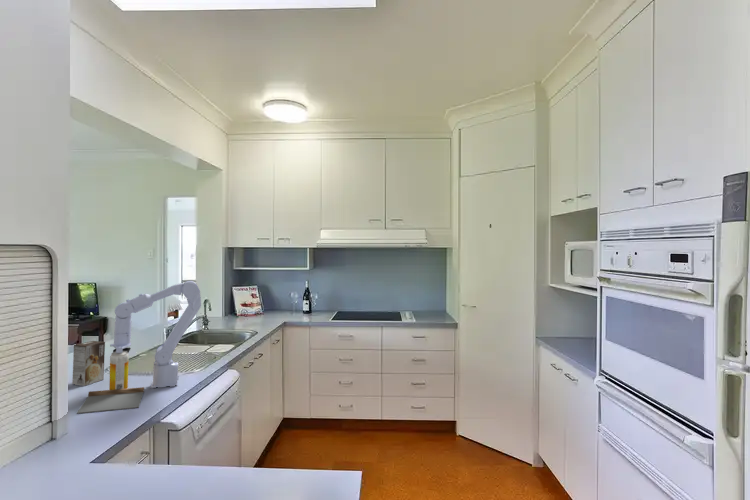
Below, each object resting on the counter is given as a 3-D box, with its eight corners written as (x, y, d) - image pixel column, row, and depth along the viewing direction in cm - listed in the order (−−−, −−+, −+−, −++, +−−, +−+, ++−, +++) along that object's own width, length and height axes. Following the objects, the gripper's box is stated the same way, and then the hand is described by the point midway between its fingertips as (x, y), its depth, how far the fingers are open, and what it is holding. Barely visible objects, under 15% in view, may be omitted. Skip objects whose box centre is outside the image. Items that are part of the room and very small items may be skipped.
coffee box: (91, 378, 175) (93, 340, 175) (104, 379, 174) (106, 341, 174) (71, 384, 166) (73, 344, 166) (84, 386, 165) (86, 345, 165)
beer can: (125, 385, 165) (126, 349, 163) (129, 391, 161) (130, 354, 159) (107, 389, 161) (108, 352, 159) (111, 395, 156) (112, 357, 155)
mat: (143, 392, 160) (143, 391, 160) (138, 407, 145) (138, 406, 145) (88, 397, 153) (88, 396, 153) (76, 413, 137) (76, 412, 137)
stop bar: (144, 391, 161) (144, 387, 161) (143, 392, 160) (143, 388, 160) (88, 396, 154) (89, 391, 154) (88, 397, 153) (88, 392, 153)
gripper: (114, 329, 169) (112, 363, 169) (107, 336, 156) (105, 372, 156) (134, 329, 172) (132, 362, 172) (129, 335, 159) (127, 371, 159)
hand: (121, 367), depth 164 cm, fingers closed
